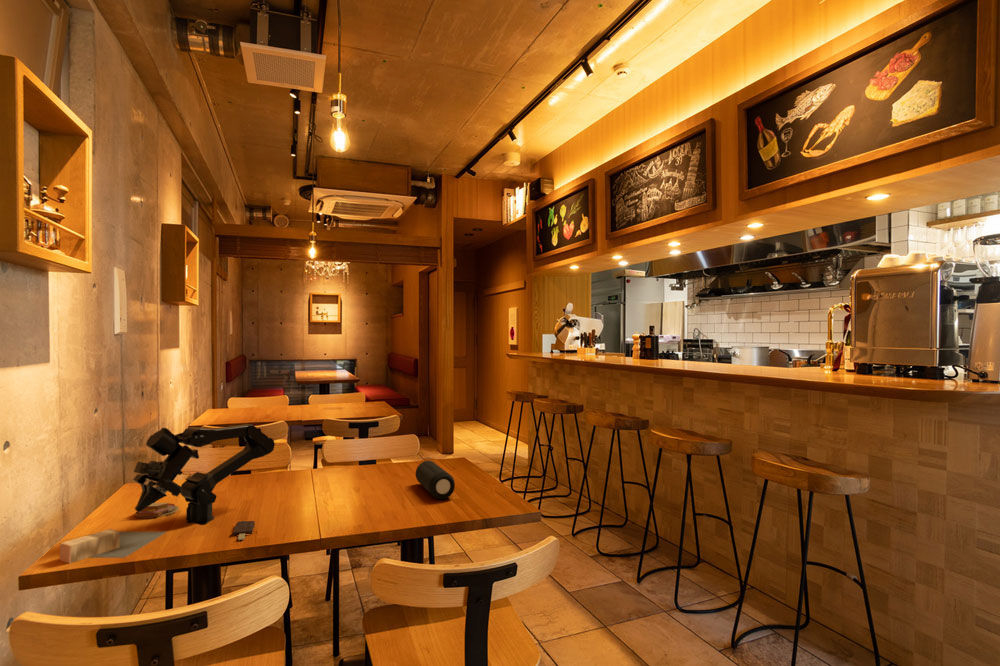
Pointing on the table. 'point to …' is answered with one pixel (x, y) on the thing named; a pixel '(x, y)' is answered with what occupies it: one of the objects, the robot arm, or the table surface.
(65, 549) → the maple block
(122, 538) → the rubber mat
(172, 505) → the toy sandwich meal
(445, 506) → the table surface
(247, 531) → the ice cream bar
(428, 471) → the portable speaker
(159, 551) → the table surface
